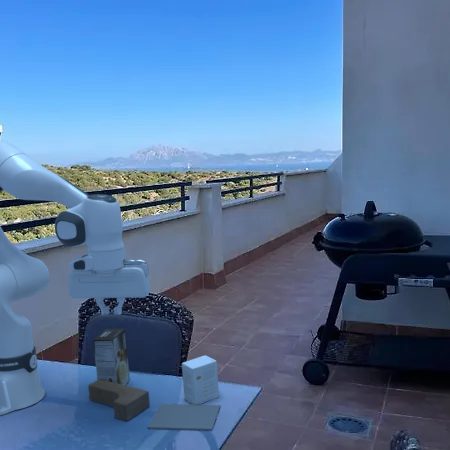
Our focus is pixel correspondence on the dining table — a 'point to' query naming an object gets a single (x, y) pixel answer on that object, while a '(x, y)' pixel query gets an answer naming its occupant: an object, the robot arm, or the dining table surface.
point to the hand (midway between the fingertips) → (111, 314)
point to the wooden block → (119, 398)
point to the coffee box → (112, 356)
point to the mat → (184, 417)
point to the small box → (200, 380)
